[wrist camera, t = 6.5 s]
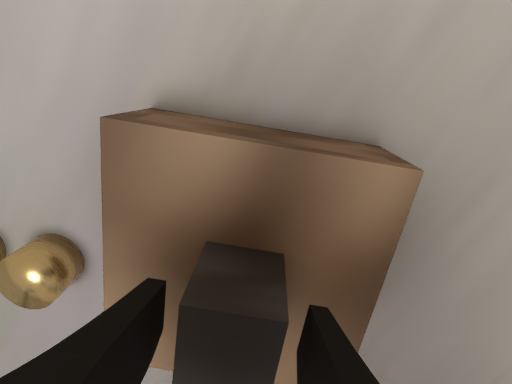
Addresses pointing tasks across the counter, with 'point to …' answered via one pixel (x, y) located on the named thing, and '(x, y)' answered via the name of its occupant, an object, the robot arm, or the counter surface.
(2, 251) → the brass puck
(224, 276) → the cover
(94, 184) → the counter surface
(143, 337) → the robot arm
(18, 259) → the brass puck
